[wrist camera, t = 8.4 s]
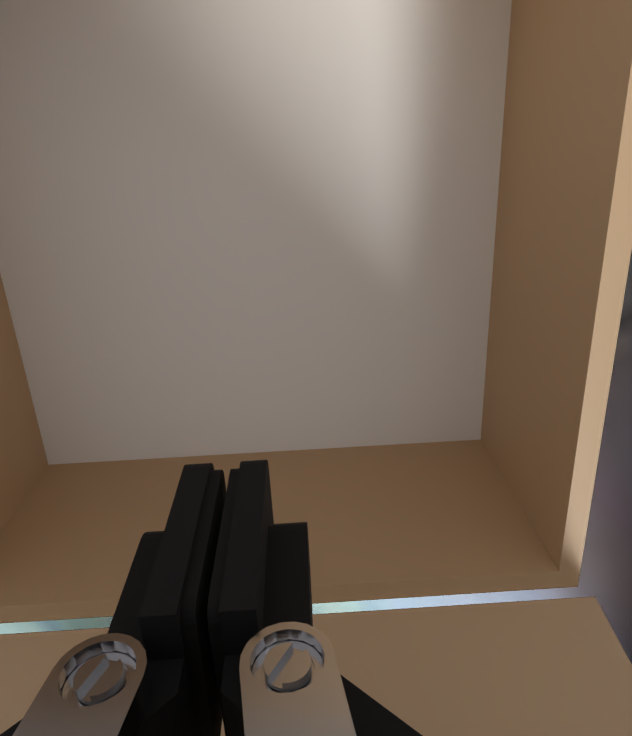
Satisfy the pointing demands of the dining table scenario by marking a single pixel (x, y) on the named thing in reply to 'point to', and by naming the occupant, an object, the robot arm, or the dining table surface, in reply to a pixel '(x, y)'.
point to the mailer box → (310, 282)
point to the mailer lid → (435, 667)
